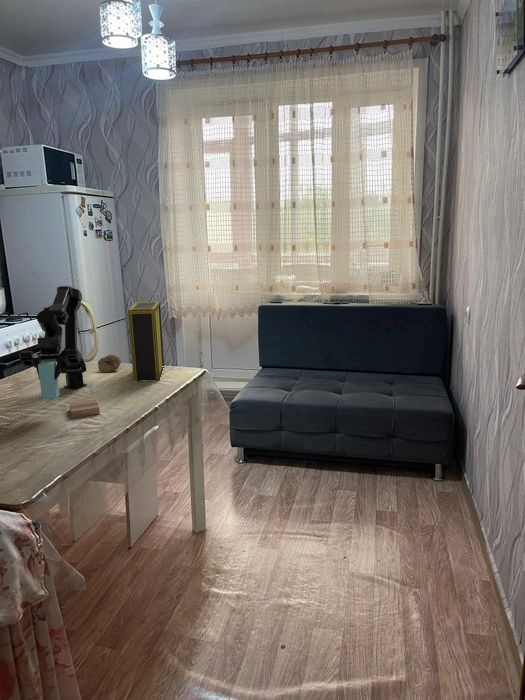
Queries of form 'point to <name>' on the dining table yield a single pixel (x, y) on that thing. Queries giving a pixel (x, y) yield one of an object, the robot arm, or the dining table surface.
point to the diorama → (146, 340)
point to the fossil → (109, 363)
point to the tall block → (48, 380)
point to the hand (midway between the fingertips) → (47, 379)
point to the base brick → (84, 408)
